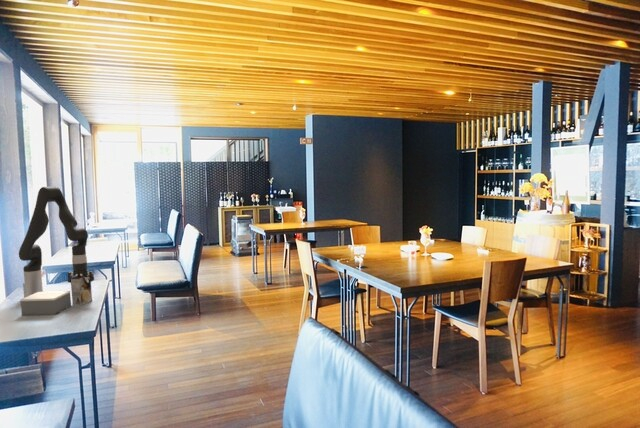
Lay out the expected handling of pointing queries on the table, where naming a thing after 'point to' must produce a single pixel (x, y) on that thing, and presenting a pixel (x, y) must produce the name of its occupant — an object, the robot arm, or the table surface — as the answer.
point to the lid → (45, 296)
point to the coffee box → (80, 291)
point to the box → (46, 306)
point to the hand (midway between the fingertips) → (81, 288)
